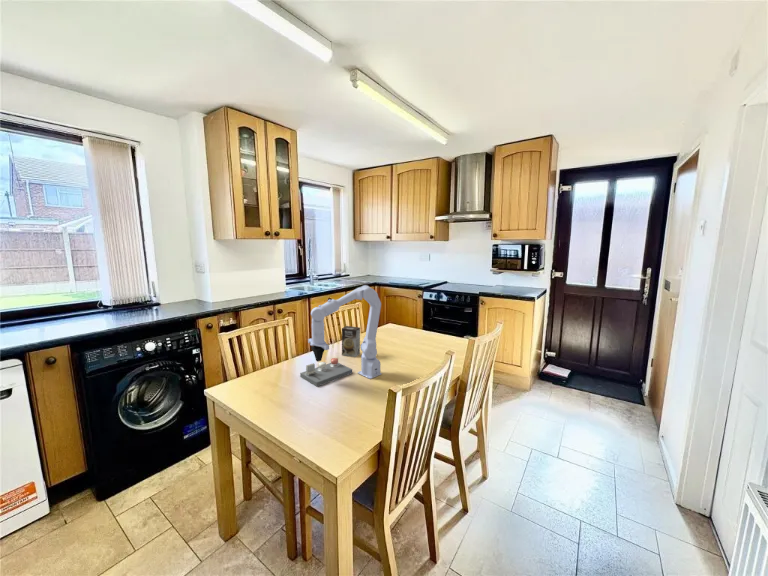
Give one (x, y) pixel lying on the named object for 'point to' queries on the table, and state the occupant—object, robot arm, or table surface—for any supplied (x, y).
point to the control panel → (326, 374)
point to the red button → (334, 361)
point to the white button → (322, 365)
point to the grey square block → (310, 369)
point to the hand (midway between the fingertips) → (318, 360)
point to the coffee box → (350, 341)
